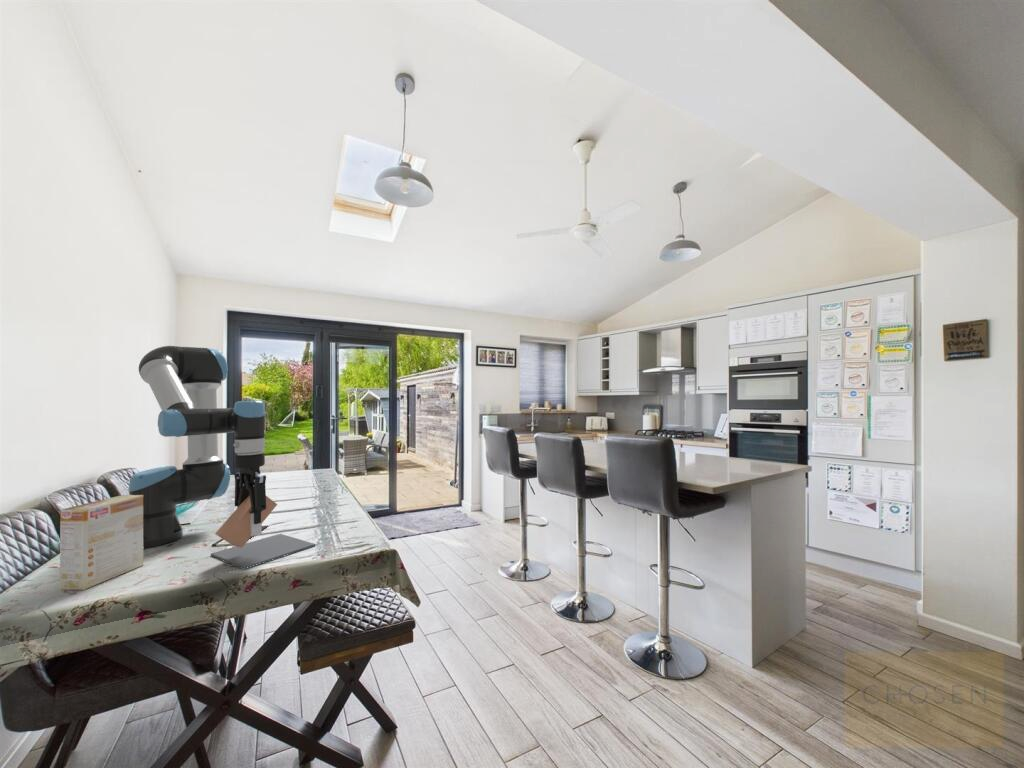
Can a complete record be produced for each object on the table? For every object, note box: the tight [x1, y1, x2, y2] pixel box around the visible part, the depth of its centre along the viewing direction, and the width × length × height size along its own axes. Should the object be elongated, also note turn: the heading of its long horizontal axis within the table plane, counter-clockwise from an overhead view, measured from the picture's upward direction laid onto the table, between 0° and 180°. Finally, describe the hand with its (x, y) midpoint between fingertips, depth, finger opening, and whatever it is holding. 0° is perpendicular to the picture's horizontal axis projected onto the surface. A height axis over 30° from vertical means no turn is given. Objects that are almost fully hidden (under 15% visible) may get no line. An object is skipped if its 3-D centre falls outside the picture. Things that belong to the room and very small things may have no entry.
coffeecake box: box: [59, 494, 144, 591], centre depth 108 cm, size 15×7×20 cm, turn 174°
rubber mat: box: [210, 533, 316, 569], centre depth 124 cm, size 20×20×1 cm
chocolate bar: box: [211, 525, 269, 547], centre depth 138 cm, size 9×1×18 cm
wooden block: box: [214, 495, 278, 548], centre depth 120 cm, size 6×6×14 cm
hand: (250, 532), depth 121 cm, fingers closed on wooden block, 6 cm apart
